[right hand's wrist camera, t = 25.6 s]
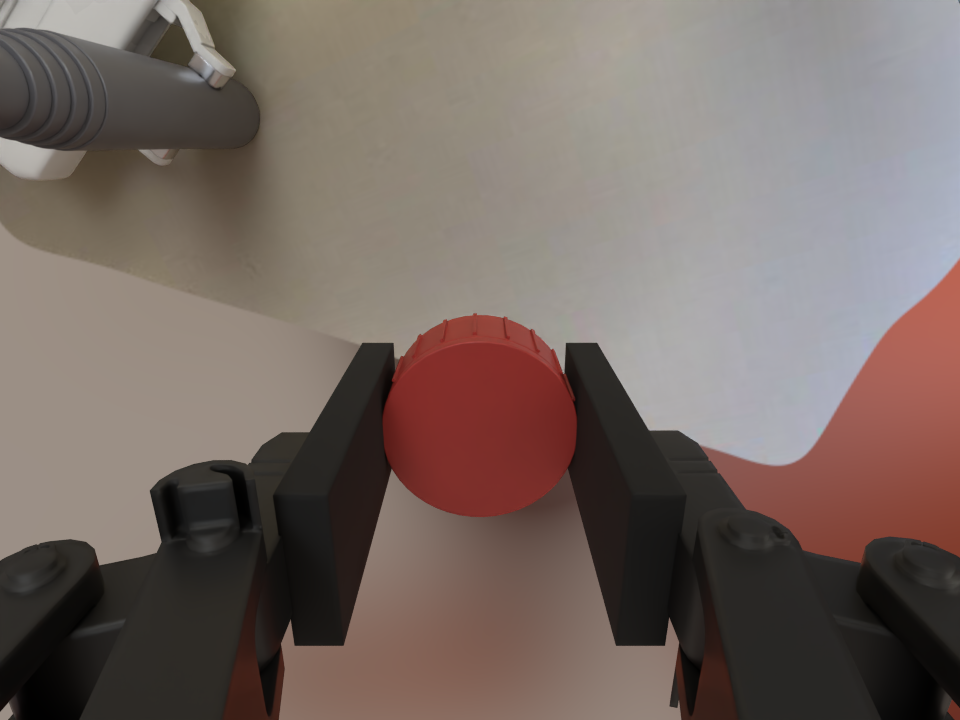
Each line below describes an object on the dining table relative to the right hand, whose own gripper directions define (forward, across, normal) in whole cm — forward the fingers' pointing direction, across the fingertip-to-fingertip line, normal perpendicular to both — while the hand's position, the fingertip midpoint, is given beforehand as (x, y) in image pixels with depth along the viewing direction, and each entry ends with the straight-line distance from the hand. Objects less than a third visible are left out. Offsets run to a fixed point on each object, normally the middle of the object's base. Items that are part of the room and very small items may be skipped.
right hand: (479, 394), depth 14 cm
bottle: (+31, +18, -8) cm, 37 cm away
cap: (-2, 0, 0) cm, 2 cm away
